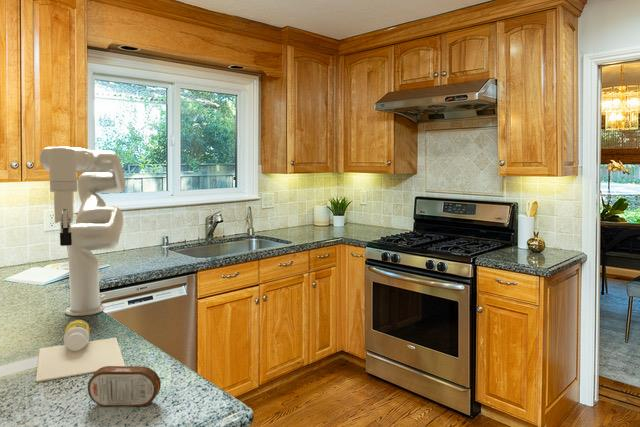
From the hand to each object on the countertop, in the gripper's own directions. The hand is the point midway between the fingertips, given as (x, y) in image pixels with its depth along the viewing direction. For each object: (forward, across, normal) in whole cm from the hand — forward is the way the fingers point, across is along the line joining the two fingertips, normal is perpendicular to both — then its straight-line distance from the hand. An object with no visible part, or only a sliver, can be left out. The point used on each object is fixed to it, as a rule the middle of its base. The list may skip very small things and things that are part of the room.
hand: (66, 245), depth 153 cm
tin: (+27, +62, +10) cm, 69 cm away
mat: (+27, +29, +2) cm, 39 cm away
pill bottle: (+23, +14, +2) cm, 27 cm away
